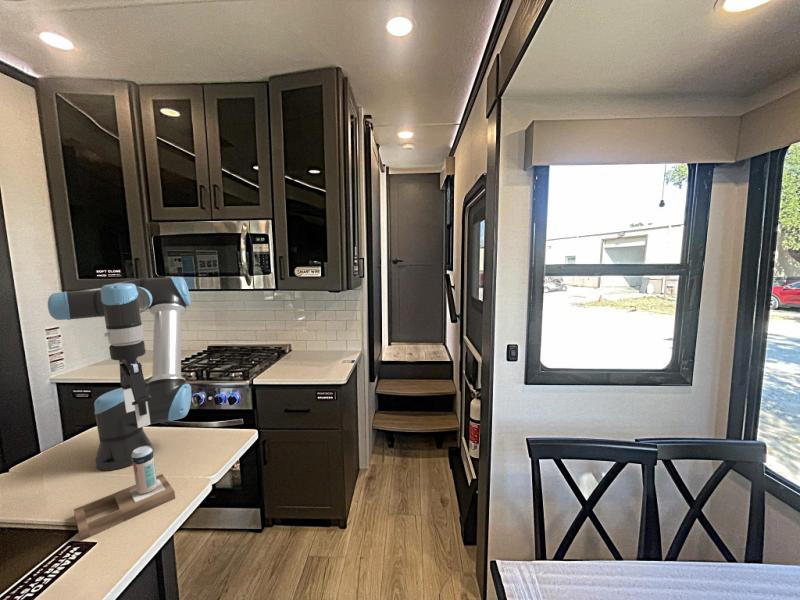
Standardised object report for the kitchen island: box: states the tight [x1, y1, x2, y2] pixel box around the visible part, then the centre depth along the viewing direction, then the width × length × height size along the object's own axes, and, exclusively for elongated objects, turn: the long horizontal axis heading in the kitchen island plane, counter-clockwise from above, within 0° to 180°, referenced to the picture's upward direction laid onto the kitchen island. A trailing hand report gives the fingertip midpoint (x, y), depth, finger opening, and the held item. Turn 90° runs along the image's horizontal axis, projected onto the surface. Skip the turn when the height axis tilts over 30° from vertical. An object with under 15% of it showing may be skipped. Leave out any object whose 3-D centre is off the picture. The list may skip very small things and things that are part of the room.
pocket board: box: [73, 473, 176, 542], centre depth 99 cm, size 12×20×2 cm, turn 136°
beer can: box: [131, 446, 158, 494], centre depth 101 cm, size 5×5×12 cm
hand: (137, 418), depth 100 cm, fingers open, 13 cm apart
